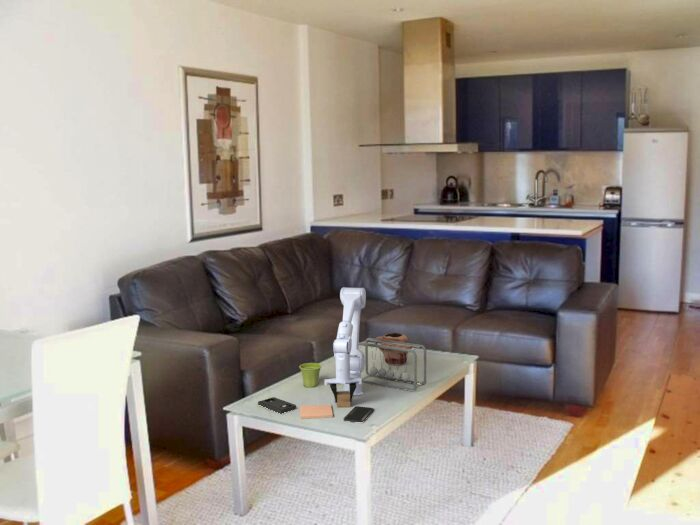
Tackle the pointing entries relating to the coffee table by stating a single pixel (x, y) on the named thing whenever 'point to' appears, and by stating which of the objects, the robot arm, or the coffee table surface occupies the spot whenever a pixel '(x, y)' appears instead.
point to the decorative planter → (395, 356)
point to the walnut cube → (343, 399)
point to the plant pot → (310, 374)
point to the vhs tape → (277, 405)
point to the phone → (358, 414)
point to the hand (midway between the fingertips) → (343, 401)
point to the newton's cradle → (390, 373)
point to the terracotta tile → (316, 411)
